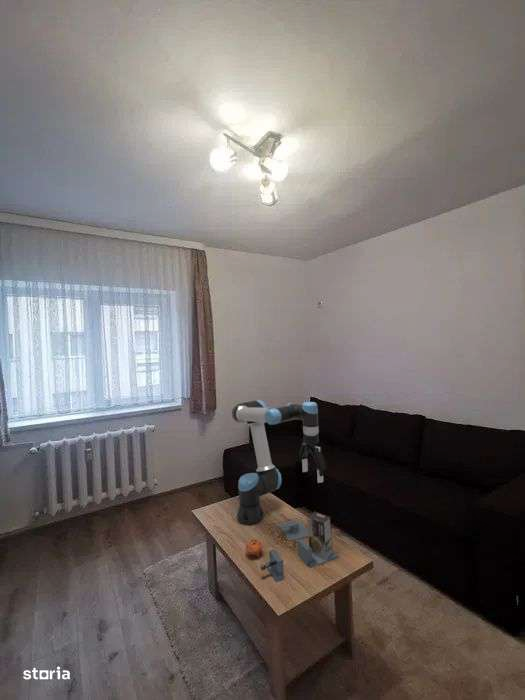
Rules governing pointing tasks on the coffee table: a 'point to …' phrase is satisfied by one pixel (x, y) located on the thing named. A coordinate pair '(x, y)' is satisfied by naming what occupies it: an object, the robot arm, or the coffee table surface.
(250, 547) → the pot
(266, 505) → the coffee table surface
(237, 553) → the coffee table surface
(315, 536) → the coffee box
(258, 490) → the robot arm
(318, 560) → the pad
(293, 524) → the shower valve
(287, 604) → the coffee table surface
